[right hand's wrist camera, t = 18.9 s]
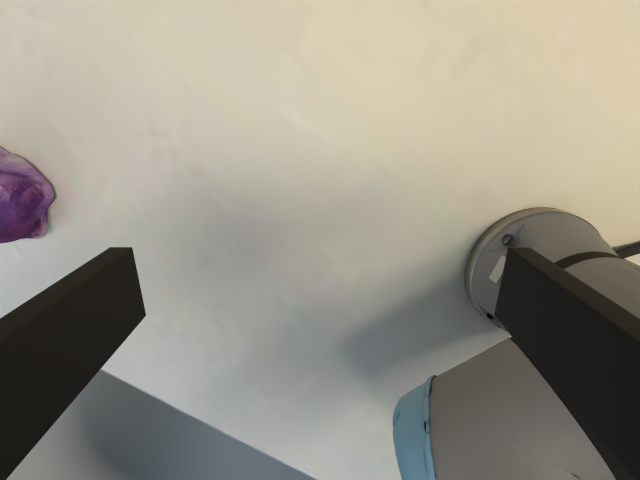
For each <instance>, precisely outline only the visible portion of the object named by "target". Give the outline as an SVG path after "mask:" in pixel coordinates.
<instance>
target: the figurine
mask: <svg viewBox="0 0 640 480" xmlns="http://www.w3.org/2000/svg"><path fill="white" fill-rule="evenodd" d="M54 196H55V194H54V191H53V187H52V185H51V183H50V182H49V181H48V180H47V179H46V178H45V177H44V176H43V175H42V174H41V173H40V172H39V171H38V170H37V169H36V168H35V167H34V166H33V165H31V164H30V163H29V162H27V161H26V160H25V159H24V158H21V157H19V156H16V155H14V154H10V153H9V152H7V151H5V150H4V149H2V148H1V147H0V243H6V242H12V241H15V240H18V239H24V238H35V239H39V238H43V237H44V236H45V235H46V233H47V230H48V222H47V210H48V207H49V206H50V203H51V202H52V201H53V200H54Z"/></svg>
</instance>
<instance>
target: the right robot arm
mask: <svg viewBox="0 0 640 480" xmlns="http://www.w3.org/2000/svg"><path fill="white" fill-rule="evenodd" d="M639 253H640V244H637V245H634V246H631V247H628V248H625V249H622V250H619V251H616V252H615V251H614V250H613V249H612V248H611V247H610V246H609V245H608V244H607V243H606V242H605V240H604V239H603V238H602V237H601V235H600V234H599V232H598V231H597V230H596V229H595V228H594V227H593V226H592V225H591V224H590V223H588V222H587V221H586V220H584V219H582V218H580V217H578V216H575V215H573V214H570V213H568V212H565V211H563V210H559V209H554V208H532V209H527V210H523V211H520V212H517V213H514V214H512V215H509V216H507V217H506V218H504V219H502V220H500V221H499V222H497V223H496V224H495V225H493V226H492V227H491V228H490V229H488V230H487V231H486V232H485V233H484V234H483V235H482V236H481V238H480V239H479V240H478V241H477V243H476V244H475V246H474V247H473V249H472V251H471V253H470V255H469V258H468V261H467V264H466V268H465V287H466V291H467V294H468V296H469V298H470V300H471V302H472V303H473V305H474V306H475V307H476V308H477V310H478V311H479V312H480V313H481V315H482V316H483V317H484V318H485V319H486V320H488V321H489V322H490V323H492V324H494V325H495V326H498V327H500V328H502V329H504V330H506V331H508V332H509V334H510V335H511V336H512V337H511V338H508V339H506V340H504V341H502V342H501V343H499V344H497V345H495V346H493V347H491V348H489V349H488V350H486V351H484V352H482V353H480V354H478V355H477V356H475V357H473V358H471V359H469V360H467V361H465V362H464V363H462V364H460V365H458V366H456V367H454V368H452V369H450V370H448V371H446V372H444V373H442V374H440V375H438V376H436V375H433V376H431V377H429V378H428V380H427V382H425V383H423V384H422V385H420V386H418V387H417V388H415V389H413V390H412V391H410V392H409V393H407V394H405V395H404V396H403V397H402V398H401V399H400V400H399V401H398V403H397V405H396V407H395V410H394V415H393V439H394V446H395V452H396V457H397V462H398V466H399V470H400V474H401V478H402V480H640V266H638V265H636V264H634V263H632V262H630V261H628V260H625V259H624V258H627V257H630V256H633V255H636V254H639ZM145 316H146V313H145V308H144V303H143V298H142V294H141V289H140V284H139V279H138V274H137V269H136V264H135V259H134V254H133V250H132V247H110V248H109V249H107V250H105V251H104V252H102V253H101V254H99V255H98V256H96V257H95V258H93V259H92V260H90V261H88V262H87V263H85V264H84V265H82V266H81V267H79V268H78V269H76V270H75V271H73V272H71V273H70V274H68V275H67V276H65V277H64V278H62V279H61V280H59V281H58V282H56V283H55V284H53V285H51V286H50V287H48V288H47V289H45V290H44V291H42V292H41V293H39V294H38V295H36V296H34V297H33V298H31V299H30V300H28V301H27V302H25V303H24V304H22V305H21V306H19V307H18V308H16V309H14V310H13V311H11V312H10V313H8V314H7V315H5V316H4V317H2V318H1V319H0V480H6V479H7V478H8V477H9V475H10V474H11V473H12V472H13V471H14V470H15V468H16V467H17V466H18V465H19V464H20V462H21V461H22V460H23V459H24V458H25V457H26V455H27V454H28V453H29V452H30V451H31V450H32V448H33V447H34V446H35V445H36V444H37V443H38V441H39V440H40V439H41V438H42V437H43V436H44V434H45V433H46V432H47V431H48V430H49V428H50V427H51V426H52V425H53V424H54V423H55V421H56V420H57V419H58V418H59V417H60V416H61V414H62V413H63V412H64V411H65V410H66V408H67V407H68V406H69V405H70V404H71V403H72V402H73V400H74V399H75V398H76V397H77V396H78V394H79V393H80V392H81V391H82V390H83V389H84V387H85V386H86V385H87V384H88V383H89V382H90V380H91V379H92V378H93V377H94V376H95V375H96V373H97V372H98V371H99V370H100V369H101V368H102V366H103V365H104V364H105V363H106V362H107V361H108V359H109V358H110V357H111V356H112V355H113V353H114V352H115V351H116V350H117V349H118V348H119V346H120V345H121V344H122V343H123V342H124V341H125V339H126V338H127V337H128V336H129V335H130V334H131V332H132V331H133V330H134V329H135V328H136V327H137V325H138V324H139V323H140V322H141V321H142V319H143V318H144V317H145Z"/></svg>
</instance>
